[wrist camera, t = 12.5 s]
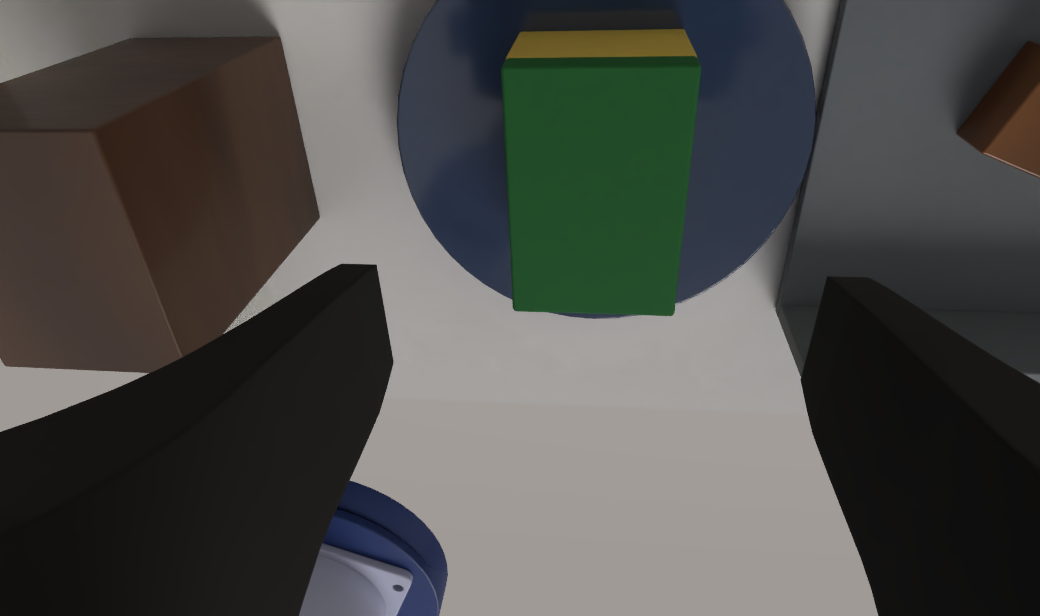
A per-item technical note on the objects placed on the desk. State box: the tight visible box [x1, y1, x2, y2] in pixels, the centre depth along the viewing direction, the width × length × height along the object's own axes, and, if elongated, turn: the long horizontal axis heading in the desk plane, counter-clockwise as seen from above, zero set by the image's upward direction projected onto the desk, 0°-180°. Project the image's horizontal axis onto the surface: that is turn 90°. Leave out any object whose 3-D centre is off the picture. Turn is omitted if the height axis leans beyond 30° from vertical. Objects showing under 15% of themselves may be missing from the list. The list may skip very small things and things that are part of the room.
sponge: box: [501, 29, 701, 316], centre depth 16 cm, size 4×6×4 cm, turn 2°
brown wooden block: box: [0, 36, 320, 373], centre depth 17 cm, size 4×6×8 cm
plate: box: [397, 0, 815, 319], centre depth 18 cm, size 11×11×1 cm
